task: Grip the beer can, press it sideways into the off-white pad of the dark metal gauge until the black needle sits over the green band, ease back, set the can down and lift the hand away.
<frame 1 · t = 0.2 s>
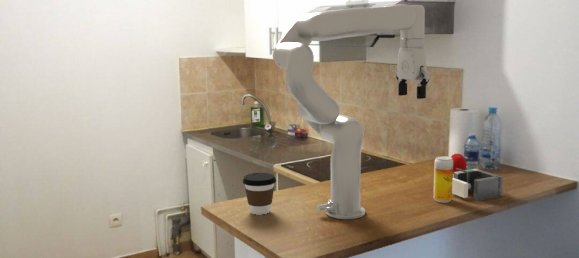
hand: (411, 96, 182), 36 cm above the table, tool pointing down, fingers open, 9 cm apart
coffee cup: (260, 212, 182), on the table
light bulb: (456, 180, 214), on the table
beer can: (442, 201, 190), on the table
gauge frame: (476, 194, 196), on the table
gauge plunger: (460, 182, 194), point 5 cm above the table, slide at 0.0 cm
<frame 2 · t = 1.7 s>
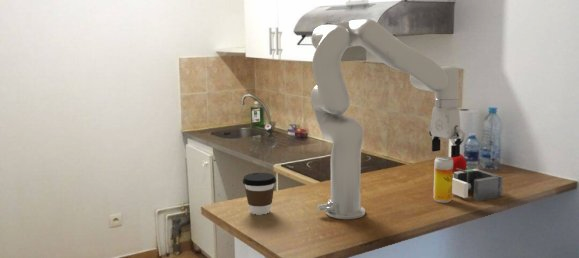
hand: (445, 153, 187), 16 cm above the table, tool pointing down, fingers open, 9 cm apart
nothing on the table moved.
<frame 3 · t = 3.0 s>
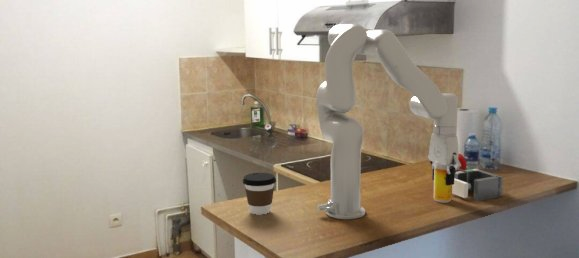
hand: (443, 181, 189), 7 cm above the table, tool pointing down, fingers closed on beer can, 6 cm apart
beer can: (442, 200, 190), on the table, touching gripper
everything else where it was.
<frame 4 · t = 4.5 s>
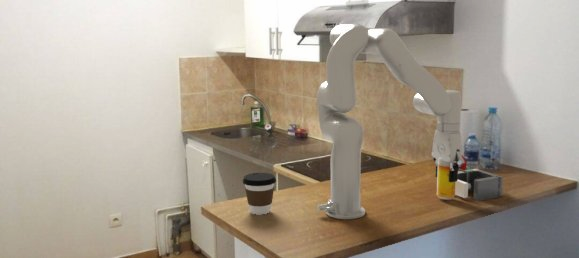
hand: (446, 178, 189), 8 cm above the table, tool pointing down, fingers closed on beer can, 6 cm apart
beer can: (445, 197, 191), point 1 cm above the table, touching gripper
everything else where it was.
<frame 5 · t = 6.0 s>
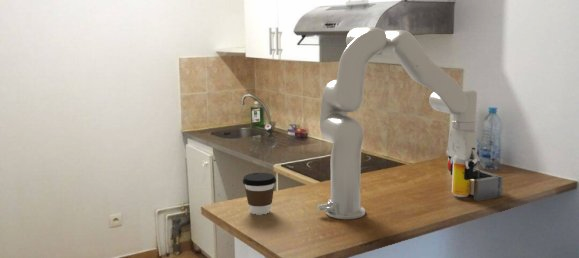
hand: (461, 176, 192), 7 cm above the table, tool pointing down, fingers closed on beer can, 6 cm apart
beer can: (460, 195, 193), point 1 cm above the table, touching gripper
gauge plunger: (471, 180, 196), point 5 cm above the table, slide at 4.8 cm
everything else where it was.
when the fingers open (7 cm above the table, at t = 7.8 s): beer can stays where it is, on the table.
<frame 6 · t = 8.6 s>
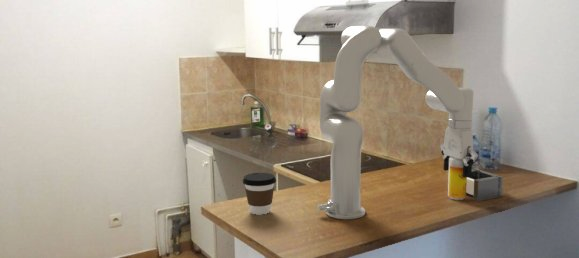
hand: (457, 173, 191), 9 cm above the table, tool pointing down, fingers open, 9 cm apart
beer can: (456, 198, 193), on the table
everything else where it was.
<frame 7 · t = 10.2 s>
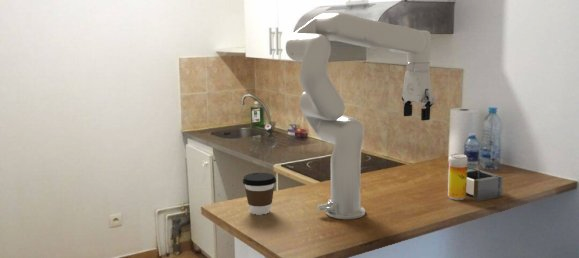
hand: (416, 118, 190), 28 cm above the table, tool pointing down, fingers open, 9 cm apart
nothing on the table moved.
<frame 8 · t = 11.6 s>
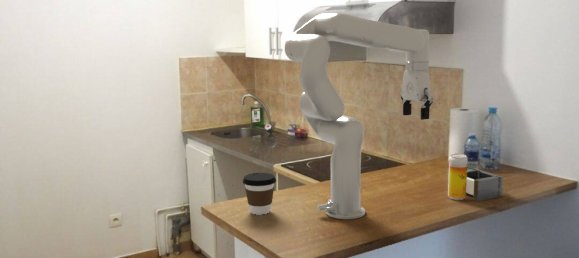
hand: (415, 117, 190), 28 cm above the table, tool pointing down, fingers open, 9 cm apart
nothing on the table moved.
at the end: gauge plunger slide at 4.8 cm; beer can tilted 0°; the gripper is holding nothing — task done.
